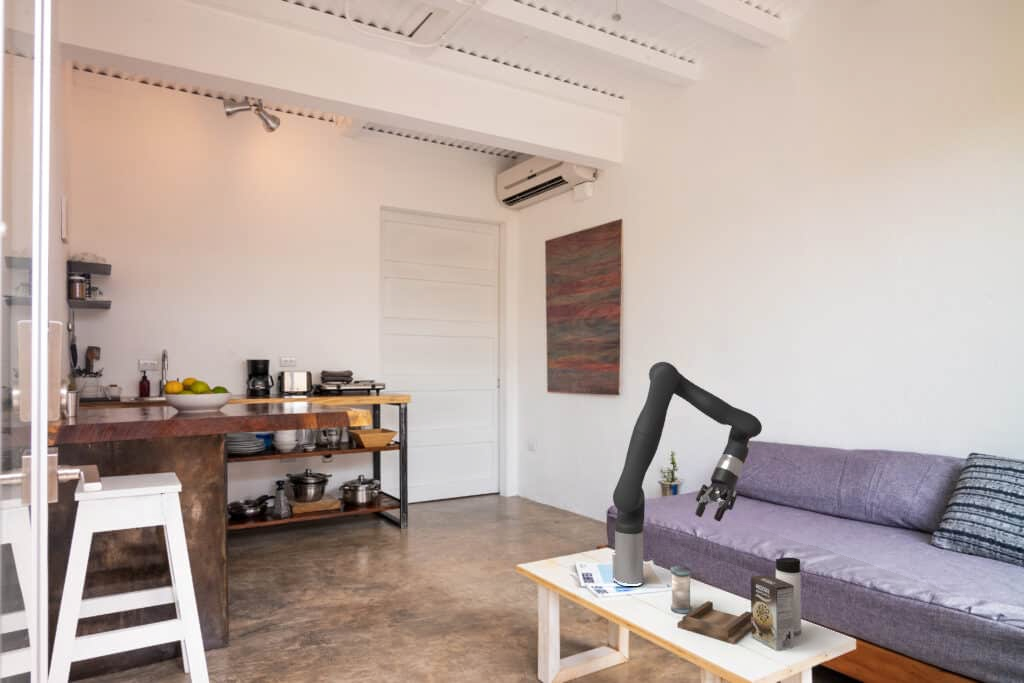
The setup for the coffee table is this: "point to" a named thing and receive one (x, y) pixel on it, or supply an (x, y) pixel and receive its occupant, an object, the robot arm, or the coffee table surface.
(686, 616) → the open-sided brown tray
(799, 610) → the travel mug
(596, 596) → the coffee table surface
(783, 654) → the coffee table surface
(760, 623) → the coffee box
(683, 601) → the beige and blue cylinder
